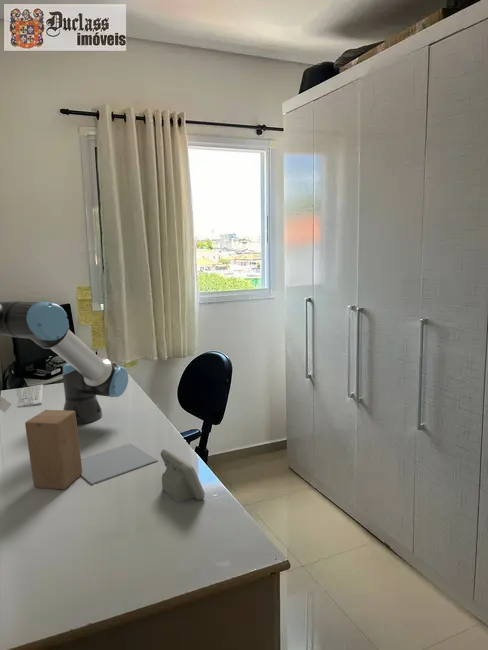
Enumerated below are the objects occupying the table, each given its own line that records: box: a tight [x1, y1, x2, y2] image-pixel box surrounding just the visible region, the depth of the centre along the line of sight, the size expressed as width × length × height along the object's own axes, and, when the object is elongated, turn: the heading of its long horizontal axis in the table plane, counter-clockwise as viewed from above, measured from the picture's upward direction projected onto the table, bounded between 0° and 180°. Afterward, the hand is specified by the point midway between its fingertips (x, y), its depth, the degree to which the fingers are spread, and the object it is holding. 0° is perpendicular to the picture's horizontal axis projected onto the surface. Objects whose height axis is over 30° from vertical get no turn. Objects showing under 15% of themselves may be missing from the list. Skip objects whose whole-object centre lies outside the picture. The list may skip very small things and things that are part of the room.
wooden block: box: [24, 409, 82, 490], centre depth 141 cm, size 10×10×20 cm
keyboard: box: [16, 384, 44, 409], centre depth 223 cm, size 29×10×2 cm, turn 21°
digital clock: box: [160, 448, 206, 503], centre depth 135 cm, size 16×9×11 cm, turn 25°
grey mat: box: [79, 443, 158, 486], centre depth 154 cm, size 22×18×1 cm
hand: (5, 405), depth 131 cm, fingers open, 4 cm apart
